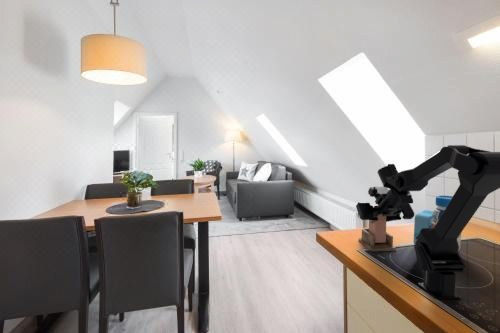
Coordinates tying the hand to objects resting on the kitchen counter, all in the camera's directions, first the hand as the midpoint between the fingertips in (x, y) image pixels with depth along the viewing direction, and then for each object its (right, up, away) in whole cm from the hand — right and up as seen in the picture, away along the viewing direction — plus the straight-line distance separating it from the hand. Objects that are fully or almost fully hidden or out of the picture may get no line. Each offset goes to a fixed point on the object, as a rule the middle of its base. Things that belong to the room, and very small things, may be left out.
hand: (375, 221), depth 95 cm
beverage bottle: (+20, -10, -8) cm, 24 cm away
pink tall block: (0, -7, -1) cm, 7 cm away
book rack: (0, -9, -1) cm, 9 cm away
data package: (+20, -9, +1) cm, 22 cm away
